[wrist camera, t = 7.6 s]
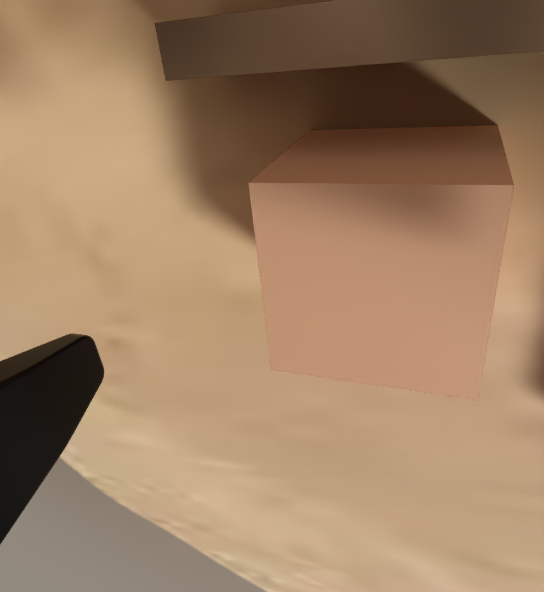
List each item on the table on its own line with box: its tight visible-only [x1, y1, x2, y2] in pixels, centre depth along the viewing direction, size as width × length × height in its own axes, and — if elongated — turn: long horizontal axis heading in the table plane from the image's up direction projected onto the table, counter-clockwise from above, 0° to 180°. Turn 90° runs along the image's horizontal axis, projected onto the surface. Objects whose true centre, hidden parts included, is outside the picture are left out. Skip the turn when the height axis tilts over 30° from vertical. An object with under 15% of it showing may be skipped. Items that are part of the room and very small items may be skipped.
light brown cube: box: [248, 125, 514, 400], centre depth 12 cm, size 5×5×5 cm
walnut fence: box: [155, 0, 544, 81], centre depth 13 cm, size 14×13×3 cm
